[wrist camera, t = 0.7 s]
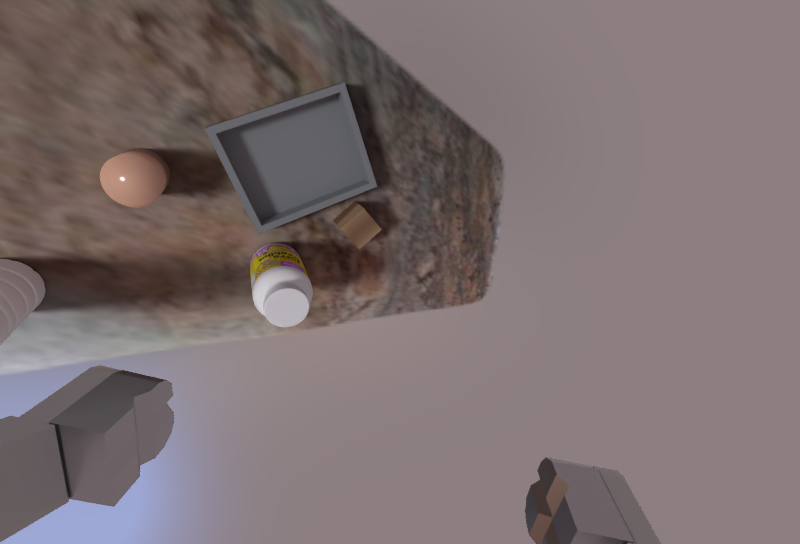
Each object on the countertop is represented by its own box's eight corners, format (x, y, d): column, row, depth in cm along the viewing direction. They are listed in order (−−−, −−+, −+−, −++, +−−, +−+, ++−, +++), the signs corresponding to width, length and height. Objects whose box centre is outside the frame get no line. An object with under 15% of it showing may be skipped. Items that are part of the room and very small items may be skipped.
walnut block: (333, 220, 52) (340, 228, 49) (354, 200, 52) (363, 207, 49) (351, 240, 54) (359, 249, 51) (372, 221, 54) (381, 229, 51)
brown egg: (105, 157, 40) (87, 165, 35) (154, 141, 41) (143, 147, 36) (134, 201, 42) (121, 214, 37) (179, 185, 43) (172, 196, 38)
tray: (205, 126, 42) (204, 128, 40) (338, 83, 46) (344, 82, 43) (256, 227, 48) (258, 234, 46) (370, 182, 52) (377, 186, 49)
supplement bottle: (302, 242, 51) (321, 279, 41) (299, 286, 54) (317, 333, 43) (249, 240, 49) (254, 280, 38) (248, 287, 51) (253, 337, 40)
